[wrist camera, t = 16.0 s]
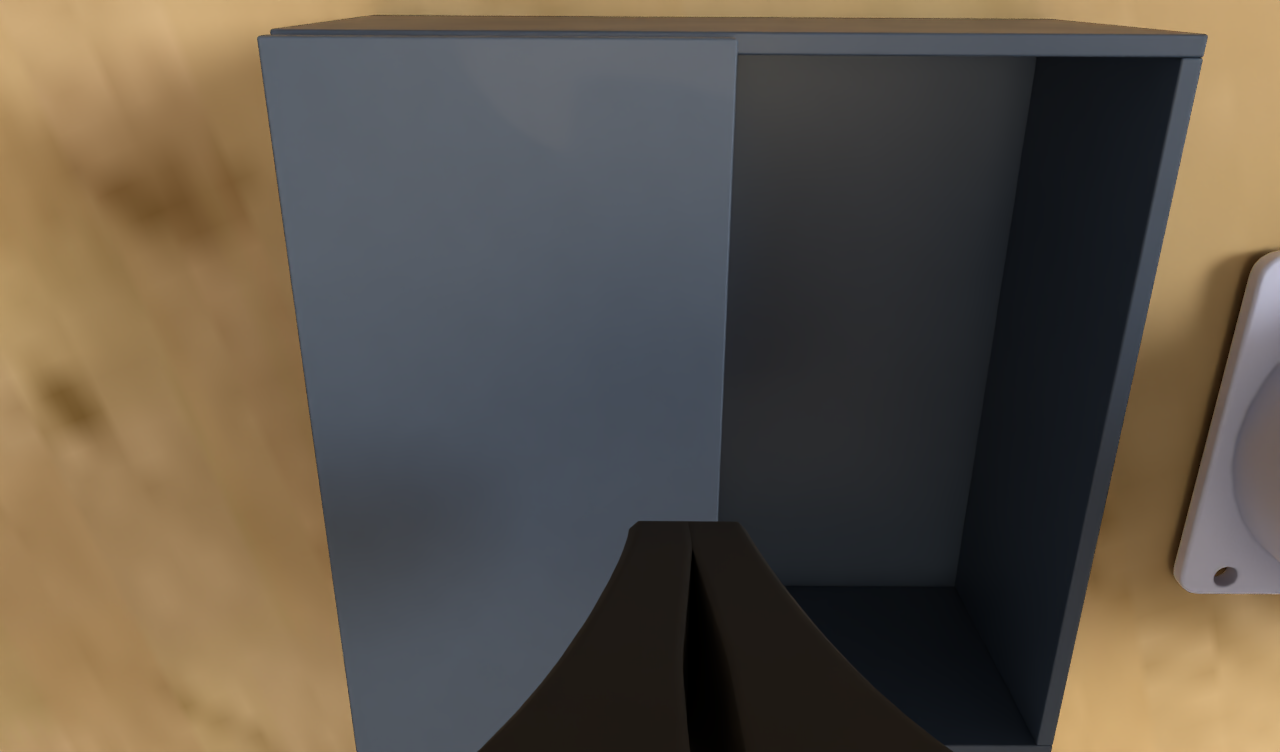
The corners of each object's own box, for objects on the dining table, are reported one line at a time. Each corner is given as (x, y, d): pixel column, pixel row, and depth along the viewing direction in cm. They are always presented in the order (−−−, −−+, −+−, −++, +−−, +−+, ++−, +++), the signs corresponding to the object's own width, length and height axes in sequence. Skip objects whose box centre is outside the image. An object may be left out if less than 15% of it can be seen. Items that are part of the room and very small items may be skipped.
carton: (426, 586, 23) (366, 755, 18) (371, 15, 18) (268, 28, 13) (961, 589, 23) (1050, 758, 18) (1052, 19, 18) (1209, 34, 13)
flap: (364, 770, 17) (360, 783, 17) (264, 34, 12) (255, 35, 12) (705, 769, 17) (706, 782, 17) (736, 37, 13) (738, 38, 12)
